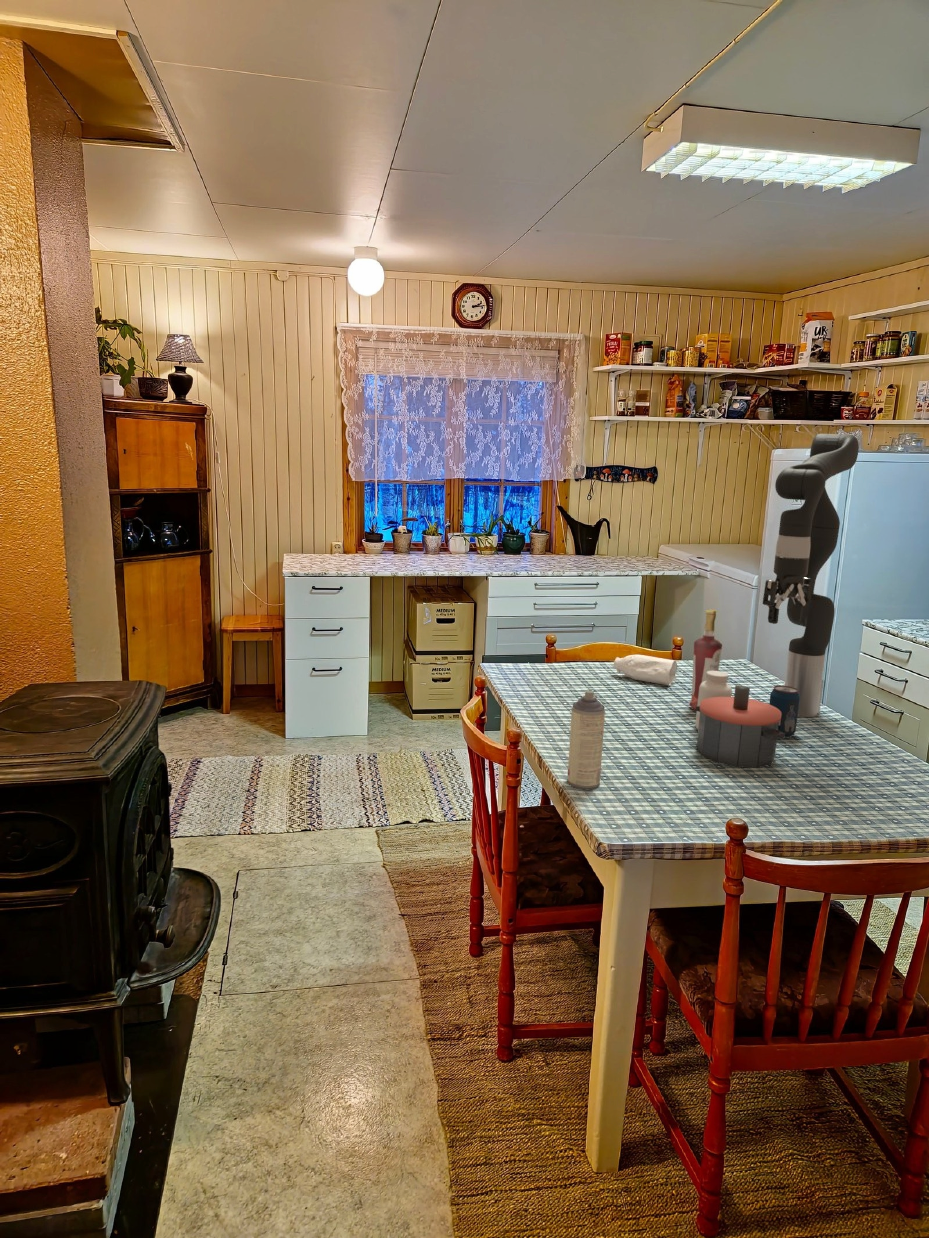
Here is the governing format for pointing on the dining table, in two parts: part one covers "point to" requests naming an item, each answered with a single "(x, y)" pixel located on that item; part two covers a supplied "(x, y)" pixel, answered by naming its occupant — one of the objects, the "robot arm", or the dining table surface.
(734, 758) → the pot
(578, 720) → the aerosol can
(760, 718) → the lid
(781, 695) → the soda can
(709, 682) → the pill bottle
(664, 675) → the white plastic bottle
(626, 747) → the dining table surface
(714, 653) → the liquor
